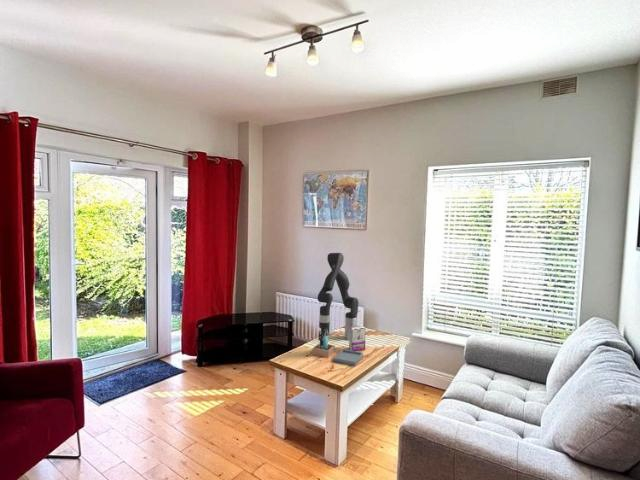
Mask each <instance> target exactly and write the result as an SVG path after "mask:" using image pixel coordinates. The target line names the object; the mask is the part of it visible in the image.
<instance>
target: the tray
mask: <svg viewBox="0 0 640 480" xmlns="http://www.w3.org/2000/svg"><path fill="white" fill-rule="evenodd" d="M363 357H364V352H362V351H351V350H349V349H345V348H342V349H341V350H340V351H339V352H338V353H337V354H336V355H334V357H333V358H332V359H333V362H334V363H338V364H343V365H349V366H354V367H356V365H358V363H359V362H360V360H361V359H362V358H363Z"/></svg>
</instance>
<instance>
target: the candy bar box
mask: <svg viewBox="0 0 640 480" xmlns="http://www.w3.org/2000/svg"><path fill="white" fill-rule="evenodd" d="M348 342H349V343H348V344H349V348H348V350H351V351H356V352H361V351H365V350H366V327H365V326H364V325H363V326H362V325H361V326H360V325H359V326H357V327H351V328H349V340H348Z"/></svg>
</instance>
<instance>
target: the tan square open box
mask: <svg viewBox="0 0 640 480" xmlns="http://www.w3.org/2000/svg"><path fill="white" fill-rule="evenodd" d="M320 348H321V346H320V342H319V343H318V344H316V345H315V346H314V347H312V355H313V356H317V357H318V356H319V357H322V358H323V357H324V358H330V357H331V356H332V355H333V354H335V352H336V351H335V350H336V345H334V344H328V350H323V349H320Z"/></svg>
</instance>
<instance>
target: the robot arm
mask: <svg viewBox="0 0 640 480" xmlns="http://www.w3.org/2000/svg"><path fill="white" fill-rule="evenodd" d="M326 258H327V262H328V265H329V268H330V269H331V271H330V272H329V273H328V274H327V275H326V277H325V278H324V279H325V280H324V282H323V285H322V287H321V289H320V291H318V294H317V301H318V302H319V303H324V304H325V305H321V306H320V307H319V317H318V328H320V330H319V331H318V341H319V343H320V346H323V339H324V337H325V335H326V336H328V337H329V336H330V327H331V317H330V316H331V315H330V311H331V305H332V302H333V297H334V296H333V294H332V293H331V292H332V291H333V289H334V286H335V282H336V285H337V287H338V289H339V293H340V297H341V299H342V303H343V307H345V308H346V309H350V311H347V312H346V313H345V315H344V317H345V319H344V323H345V324H344V339H345V340H347V341H349V328H351V327H358V325H357V324H358V313H359V299H358V298H357V297H353V296H350V295H349V287H350V280H349V278H348V275H347V274H346V273H345V272H344V271H343V270H342V269H341V267H342V266H343V263H344V255H343V253H342V252H330V253H328V254H327V257H326ZM322 337H323V338H322Z"/></svg>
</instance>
